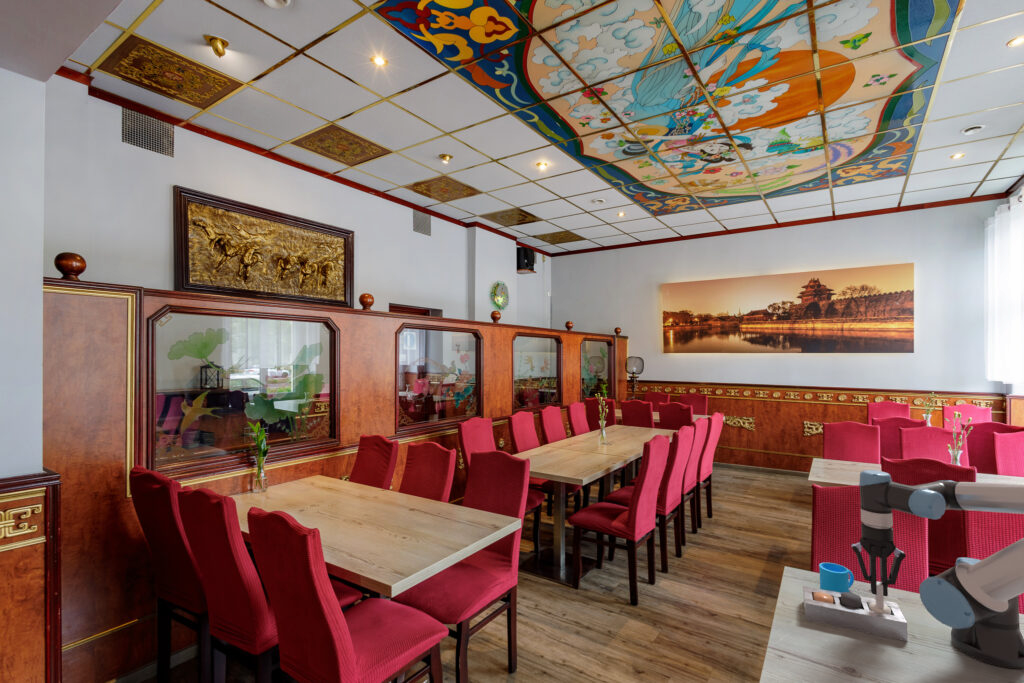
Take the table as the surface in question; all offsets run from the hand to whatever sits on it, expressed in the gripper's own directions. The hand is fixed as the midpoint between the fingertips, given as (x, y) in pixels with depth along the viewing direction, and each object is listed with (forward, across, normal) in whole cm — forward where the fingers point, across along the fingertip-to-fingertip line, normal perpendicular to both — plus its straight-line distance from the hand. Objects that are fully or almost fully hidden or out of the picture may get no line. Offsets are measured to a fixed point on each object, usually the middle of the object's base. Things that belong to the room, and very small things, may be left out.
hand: (879, 605), depth 140 cm
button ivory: (+4, 0, 0) cm, 4 cm away
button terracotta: (+4, +14, 0) cm, 15 cm away
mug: (+6, +8, -19) cm, 22 cm away
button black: (+3, +7, 0) cm, 8 cm away
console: (+6, +7, 0) cm, 9 cm away
